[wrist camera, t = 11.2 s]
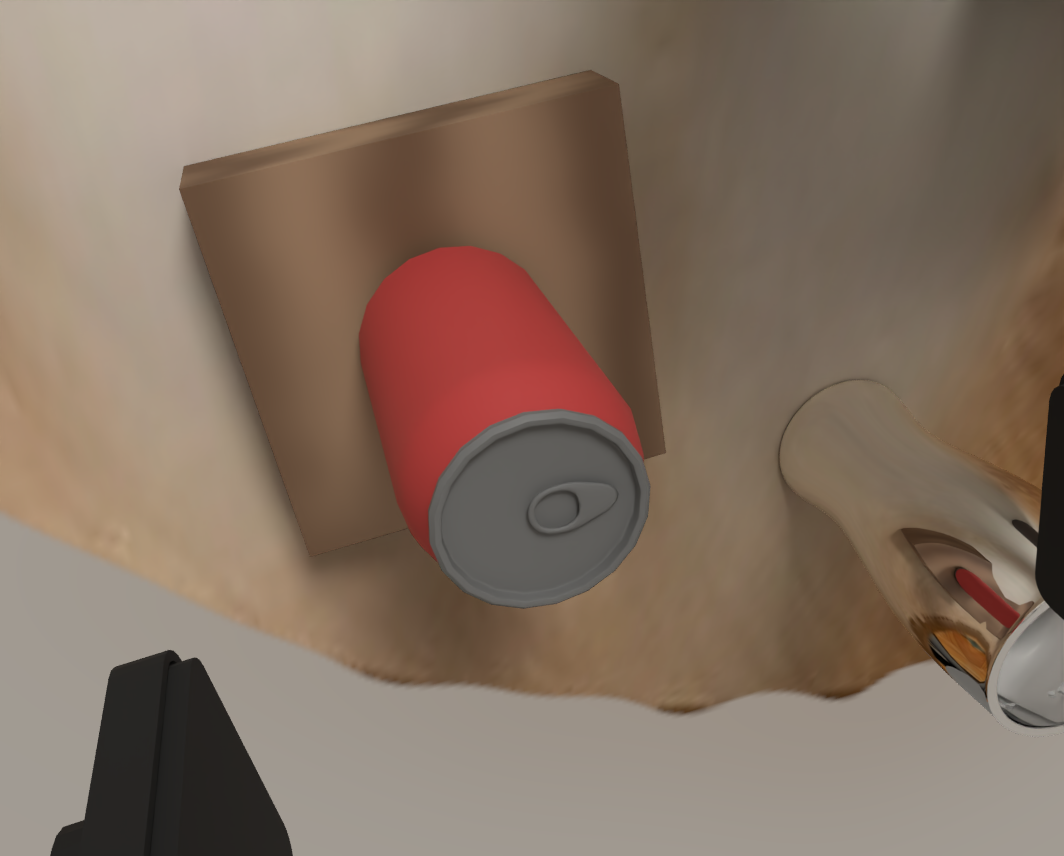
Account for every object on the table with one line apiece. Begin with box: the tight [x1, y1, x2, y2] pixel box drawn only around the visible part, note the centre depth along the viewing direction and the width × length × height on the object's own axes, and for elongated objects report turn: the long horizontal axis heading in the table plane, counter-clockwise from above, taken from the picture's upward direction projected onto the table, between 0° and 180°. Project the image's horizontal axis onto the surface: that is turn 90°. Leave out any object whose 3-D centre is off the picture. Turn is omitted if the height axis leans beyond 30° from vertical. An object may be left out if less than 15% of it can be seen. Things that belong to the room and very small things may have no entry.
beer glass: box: [779, 380, 1064, 737], centre depth 39 cm, size 7×7×15 cm
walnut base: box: [179, 70, 666, 557], centre depth 36 cm, size 14×14×3 cm
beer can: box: [359, 246, 650, 609], centre depth 30 cm, size 7×7×12 cm
